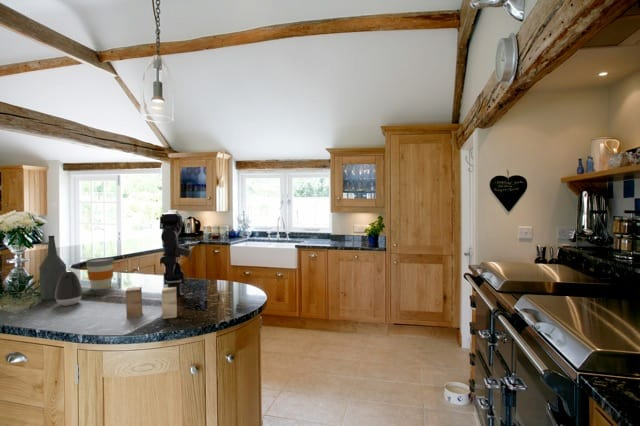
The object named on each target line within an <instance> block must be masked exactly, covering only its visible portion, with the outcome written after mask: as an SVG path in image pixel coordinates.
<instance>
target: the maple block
mask: <svg viewBox="0 0 640 426" xmlns="http://www.w3.org/2000/svg"><path fill="white" fill-rule="evenodd" d="M161 297H162V298H161V302H162V303H161V306H162V308H161V309H162V319H163V320H164V319H173V318H177V317H178V306H177V305H178V304H177V303H178V301H177V298H178V297H177V295H176V287H170V288H168V287H163V288H162V290H161Z"/></svg>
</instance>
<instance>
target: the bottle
mask: <svg viewBox="0 0 640 426" xmlns="http://www.w3.org/2000/svg"><path fill="white" fill-rule="evenodd" d="M55 237H56V236H55V235H48V241H47V242H48V243H47V253H46V256H45V258H44V260H43V261H42V262H41V264H40V265H39V268H38V269H39V287H40V289H39V290H40V299H41V300H45V301H52V300H56V299H55V291H56V286H57V283H58V280H59V277H60V276H61V274H62V273H63V272H65V271H67V265H66V263H65V262H64V261H63V260H62V259H61V257H60V256H59V255H58V252H57V247H56V242H55Z"/></svg>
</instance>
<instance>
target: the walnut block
mask: <svg viewBox="0 0 640 426" xmlns="http://www.w3.org/2000/svg"><path fill="white" fill-rule="evenodd" d="M142 289H143V288H142V286H134V287H127V288H126V290H125V307H126V309H125V310H126V319H132V318H140V317H142V315H143V297H142V296H143V293H142V292H143V291H142Z"/></svg>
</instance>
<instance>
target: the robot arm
mask: <svg viewBox="0 0 640 426" xmlns="http://www.w3.org/2000/svg"><path fill="white" fill-rule="evenodd" d="M159 217H160V218H159V229H160V230H163V231H162V233H161V241H162V242H163V244H162V247H163V254H162V256H161V258H160V259H159V263H160V264H161V265H162V264H163V266H164V267H165V271H164V272H163V281H164V282H163V283H164V286H165V285H167V288H170V287H176V295H177V298H178V297H181V296H184V293H182V290H181V289H182V288H181V284H184V283H185V281H186V280H185V273H184V271H183V270H182V266H181V264H180V263H179V261H180V258H181V257H182V256H184V257H185V258H190V256H191V252H192V249H191V248H190V246H189V245H185V246H180V243H179V240H178V239H179V235H180V234H181V232H182V228H183V216H182V215H181V214H179V211H178V209H168V210H166V212H162V213H161V215H160V216H159Z"/></svg>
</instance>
